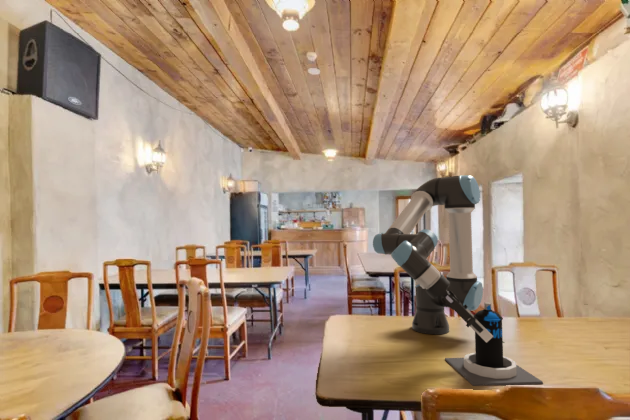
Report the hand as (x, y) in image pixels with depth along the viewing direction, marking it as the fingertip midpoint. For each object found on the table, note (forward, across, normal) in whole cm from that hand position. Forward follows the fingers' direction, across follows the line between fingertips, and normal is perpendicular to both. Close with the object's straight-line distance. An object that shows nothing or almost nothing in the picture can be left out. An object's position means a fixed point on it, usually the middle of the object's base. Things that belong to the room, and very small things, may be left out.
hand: (484, 332), depth 115 cm
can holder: (+9, 0, -7) cm, 12 cm away
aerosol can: (+9, 0, -7) cm, 11 cm away
